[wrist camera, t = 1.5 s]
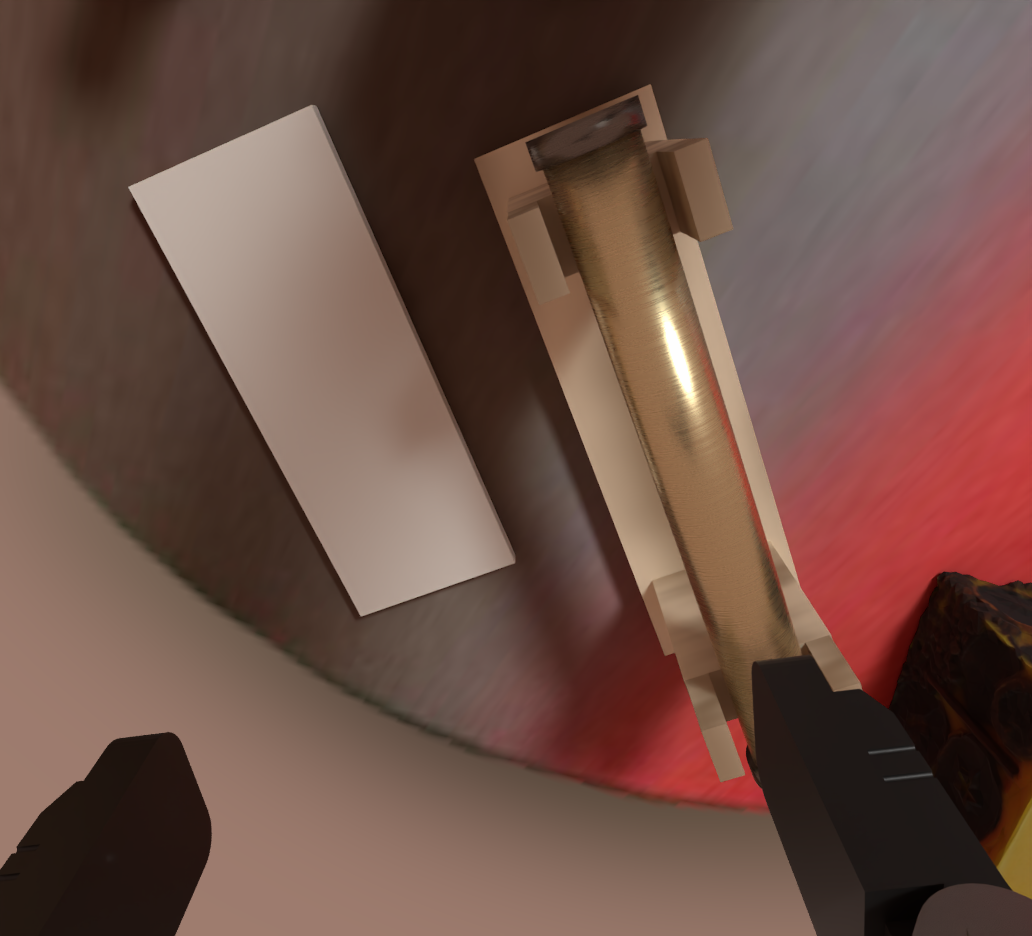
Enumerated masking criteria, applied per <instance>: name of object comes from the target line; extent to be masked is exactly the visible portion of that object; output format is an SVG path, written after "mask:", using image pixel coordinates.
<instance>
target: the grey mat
mask: <svg viewBox="0 0 1032 936" xmlns="http://www.w3.org/2000/svg"><path fill="white" fill-rule="evenodd" d="M128 188H129V189H130V191H131V193H132V195H133V197H134V199H135V200H136V202H137V204H138V206H139V208H140V210H141V212H142V213H143V215H144V217H145V219H146V221H147V223H148V224H149V226H150V228H151V230H152V232H153V234H154V236H155V237H156V239H157V241H158V243H159V245H160V247H161V248H162V250H163V252H164V254H165V256H166V258H167V259H168V261H169V263H170V265H171V267H172V269H173V271H174V272H175V274H176V276H177V278H178V280H179V282H180V283H181V285H182V287H183V289H184V291H185V293H186V295H187V296H188V298H189V300H190V302H191V304H192V306H193V307H194V309H195V311H196V313H197V315H198V317H199V319H200V320H201V322H202V324H203V326H204V328H205V330H206V331H207V333H208V335H209V337H210V339H211V341H212V343H213V344H214V346H215V348H216V350H217V352H218V354H219V355H220V357H221V359H222V361H223V363H224V365H225V367H226V368H227V370H228V372H229V374H230V376H231V378H232V379H233V381H234V383H235V385H236V387H237V389H238V391H239V392H240V394H241V396H242V398H243V400H244V402H245V403H246V405H247V407H248V409H249V411H250V413H251V415H252V416H253V418H254V420H255V422H256V424H257V426H258V427H259V429H260V431H261V433H262V435H263V437H264V439H265V440H266V442H267V444H268V446H269V448H270V450H271V451H272V453H273V455H274V457H275V459H276V461H277V463H278V464H279V466H280V468H281V470H282V472H283V474H284V475H285V477H286V479H287V481H288V483H289V485H290V487H291V488H292V490H293V492H294V494H295V496H296V498H297V499H298V501H299V503H300V505H301V507H302V509H303V511H304V512H305V514H306V516H307V518H308V520H309V522H310V523H311V525H312V527H313V529H314V531H315V533H316V535H317V536H318V538H319V540H320V542H321V544H322V546H323V547H324V549H325V551H326V553H327V555H328V557H329V559H330V560H331V562H332V564H333V566H334V568H335V570H336V571H337V573H338V575H339V577H340V579H341V581H342V583H343V584H344V586H345V588H346V590H347V592H348V594H349V595H350V597H351V599H352V601H353V603H354V605H355V607H356V608H357V610H358V612H359V614H360V616H364V615H367V614H370V613H373V612H376V611H379V610H382V609H384V608H387V607H390V606H393V605H396V604H399V603H402V602H405V601H407V600H410V599H413V598H416V597H419V596H422V595H425V594H428V593H431V592H433V591H436V590H439V589H442V588H445V587H448V586H451V585H454V584H456V583H459V582H462V581H465V580H468V579H471V578H474V577H477V576H480V575H482V574H485V573H488V572H491V571H494V570H497V569H500V568H503V567H505V566H508V565H511V564H514V563H515V553H514V551H513V548H512V546H511V544H510V542H509V539H508V537H507V535H506V533H505V530H504V528H503V526H502V524H501V521H500V519H499V517H498V515H497V512H496V510H495V508H494V506H493V503H492V501H491V499H490V496H489V494H488V492H487V490H486V487H485V485H484V483H483V481H482V478H481V476H480V474H479V472H478V469H477V467H476V465H475V463H474V460H473V458H472V456H471V454H470V451H469V449H468V447H467V445H466V442H465V440H464V438H463V436H462V433H461V431H460V429H459V426H458V424H457V422H456V420H455V417H454V415H453V413H452V411H451V408H450V406H449V404H448V402H447V399H446V397H445V395H444V393H443V390H442V388H441V386H440V384H439V381H438V379H437V377H436V375H435V372H434V370H433V368H432V365H431V363H430V361H429V359H428V356H427V354H426V352H425V350H424V347H423V345H422V343H421V341H420V338H419V336H418V334H417V332H416V329H415V327H414V325H413V323H412V320H411V318H410V316H409V314H408V311H407V309H406V307H405V305H404V302H403V300H402V298H401V295H400V293H399V291H398V289H397V286H396V284H395V282H394V280H393V277H392V275H391V273H390V271H389V268H388V266H387V264H386V262H385V259H384V257H383V255H382V253H381V250H380V248H379V246H378V244H377V241H376V239H375V237H374V235H373V232H372V230H371V228H370V225H369V223H368V221H367V219H366V216H365V214H364V212H363V210H362V207H361V205H360V203H359V201H358V198H357V196H356V194H355V192H354V189H353V187H352V185H351V183H350V180H349V178H348V176H347V174H346V171H345V169H344V167H343V164H342V162H341V160H340V158H339V155H338V153H337V151H336V149H335V146H334V144H333V142H332V140H331V137H330V135H329V133H328V131H327V128H326V126H325V124H324V122H323V119H322V117H321V115H320V113H319V110H318V108H317V106H314V105H310V106H308V107H306V108H304V109H301V110H299V111H297V112H295V113H293V114H290V115H288V116H286V117H284V118H281V119H279V120H277V121H275V122H272V123H270V124H268V125H266V126H263V127H261V128H259V129H257V130H255V131H252V132H250V133H248V134H246V135H243V136H241V137H239V138H237V139H234V140H232V141H230V142H228V143H226V144H223V145H221V146H219V147H217V148H214V149H212V150H210V151H208V152H205V153H203V154H201V155H199V156H197V157H194V158H192V159H190V160H188V161H185V162H183V163H181V164H179V165H176V166H174V167H172V168H170V169H168V170H165V171H163V172H161V173H159V174H156V175H154V176H152V177H150V178H147V179H145V180H143V181H141V182H139V183H136V184H134V185H132V186H130V187H128Z"/></svg>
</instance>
